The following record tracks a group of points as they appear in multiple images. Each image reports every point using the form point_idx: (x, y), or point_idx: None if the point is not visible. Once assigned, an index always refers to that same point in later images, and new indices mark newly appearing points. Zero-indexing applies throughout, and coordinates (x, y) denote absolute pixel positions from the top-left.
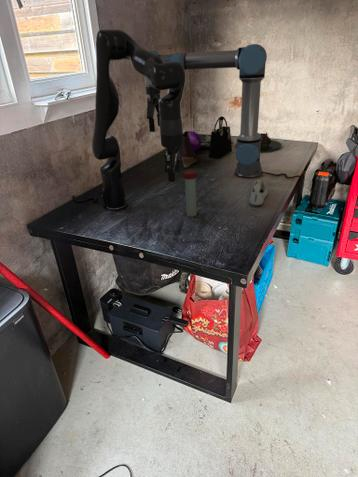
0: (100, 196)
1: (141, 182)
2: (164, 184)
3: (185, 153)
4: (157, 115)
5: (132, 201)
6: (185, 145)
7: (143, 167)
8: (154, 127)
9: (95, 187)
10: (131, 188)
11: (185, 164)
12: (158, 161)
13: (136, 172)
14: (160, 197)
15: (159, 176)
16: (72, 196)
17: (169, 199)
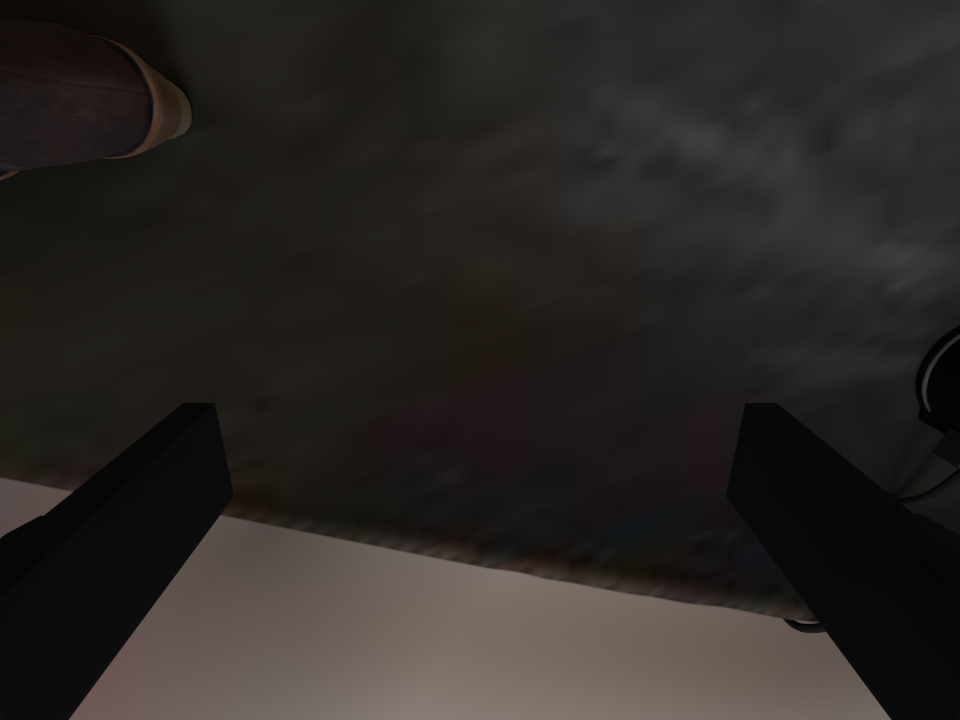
0: (950, 490)
1: (574, 367)
2: (605, 187)
3: (120, 82)
4: (63, 705)
5: (908, 307)
6: (30, 67)
7: (274, 456)
8: (813, 447)
9: (667, 586)
10: (685, 391)
11: (183, 107)
12: (107, 398)
13: (385, 465)
14: (864, 135)
15: (440, 281)
16: (810, 631)
17: (913, 48)
